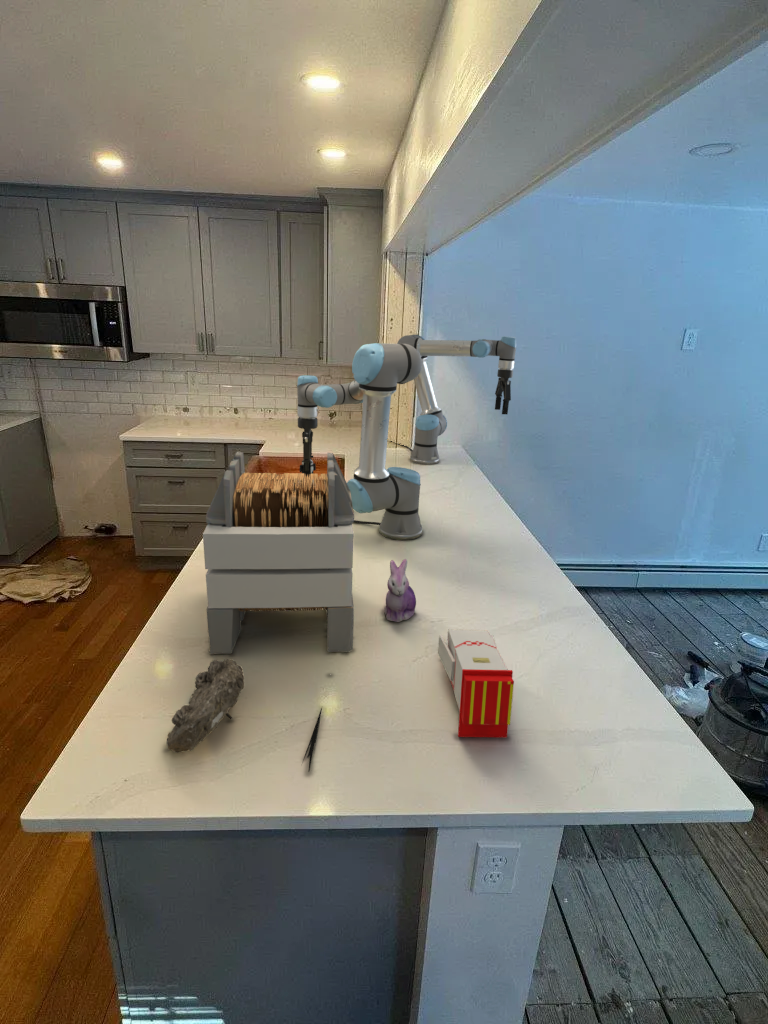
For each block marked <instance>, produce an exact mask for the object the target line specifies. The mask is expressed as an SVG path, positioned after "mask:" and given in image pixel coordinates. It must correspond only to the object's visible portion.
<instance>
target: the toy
mask: <svg viewBox="0 0 768 1024" xmlns="http://www.w3.org/2000/svg"><path fill="white" fill-rule="evenodd" d="M446 640H447V643H446V641H445V639H444V636H443V635H442V634H439V637H438V646H437V656H438V657H439V659H440V661H441V663H442V666H443V668H444V670H445V672H446V674H447V677H448V679H449V681H450V684H451V687H452V690H453V693H454V697H455V701H456V705H457V708H458V711H459V714H458V715H459V716H458V730H457V731H458V732H457V737H458V738H508V731H509V726H510V725H511V717H512V707H513V697H514V696H513V695H514V684H515V680H514V679H513V673H514V671H513V670H512V669H508V667H507V665H506V662H505V661H504V659H503V658H502V655H501V653H500V651H499V649H498V647H497V643H496V639H495V637H494V635H493V634H491V632H490V631H489V629H467V628H466V629H465V628H463V629H461V628H460V629H459V628H448V630H447V639H446Z"/></svg>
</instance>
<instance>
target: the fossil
mask: <svg viewBox="0 0 768 1024" xmlns="http://www.w3.org/2000/svg"><path fill="white" fill-rule="evenodd" d="M243 670H244V669H243V667H242V665H240V664H237V662H236V661H235V660H234V659H232V658H231V659H227V658H226V659H224V660H223V661H222V660H217V659H212V660H211V661H210V663H209V665H208V666H207V671H201V672H199V673H198V674H197V675H196V676H195V680H194V684H195V685H194V687H195V689H194V690H193V693H192V694H191V697H190V698H189V700H188V704H184V705H182V706H181V707H180V709H177V710H176V711H175V713H174V715H173V716H172V718H171V723H172V724H173V727H172V730H171V731H170V732H168V734H167V738H166V741H167V742H166V745H167V749H168V750H169V751H173V752H174V753H176V754H178V753H182V752H188V751H189V752H192V751H193V750H195V748H196V747H197V746H199V744H200V743H201V742H203V741H204V740H205V739H206V738H207V737H208V736H209V735H210V734H211V733H212V732H214V730H215V729H217V727H218V726H219V724H220V722H221V721H222V720H223V719H224V718H225V716H226V717H227V719H229V720H233V717H232V715H230V714H229V710H230V709H231V708H234V706H235V704H236V703H237V702H238V699H239V697H240V695H241V693H242V691H243V690H245V689H244V688H245V675H244V671H243Z"/></svg>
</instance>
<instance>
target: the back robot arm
mask: <svg viewBox="0 0 768 1024" xmlns="http://www.w3.org/2000/svg"><path fill="white" fill-rule="evenodd" d="M396 344H408V345H411V346H413V347H414V348H415V349H416V350H417V351H418V352H419V354H420V356H421V359H422V369H421V371H420V373H419V375H418V376H417V377H416V378H415V379H413V383H414V386H415V390H416V392H417V398H418V401H419V405H420V409H421V413H420V415H418V416H417V417H416V419H415V432H414V434H415V435H414V446H413V449H412V448H411V447H409V446H408V445H406V446H404V445H405V444H403V445H400V444H401V443H400V444H398V445H399V446H401V447H404V448H406V449H407V450H408V449H409V451H410V452H411V454H410V457H409V460H410V462H412V463H413V464H414V463H415V464H418V465H437V464H439V463H440V454H439V450H438V437H439V436H441V435H443V434H444V432H445V431H446V430H447V427H448V421H447V420H448V419H447V418H446V416H445V415H444V414H443V409H442V408H441V407H439V406H438V402H437V398H436V395H435V391H434V387H433V384H432V380H431V376H430V371H429V369H428V364H427V361H428V359H429V357H461V358H462V357H465V358H467V357H469V358H479V359H480V358H486V357H488V356H490V357H498V363H497V367H498V369H497V373H496V374H497V377H498V380H497V384H496V388H495V393H494V395H495V402H494V403H495V404H494V410H495V411H497V410H498V411H500V410H501V415H508V413H509V405H510V404H509V403H510V401H512V395H511V394H512V393H511V391H512V389H511V386H512V385H511V384H512V381H511V380H510V379H512V378H513V377H514V369H515V365H516V362H515V359H516V351H517V337H515V336H501V339H499V340H496V339H486V338H482V339H479V338H478V339H477V340H465V339H464V340H460V339H458V340H457V339H456V340H455V339H454V340H453V339H452V340H449V339H425V338H424V337H423V336H421V335H419V334H409V335H408V334H407V335H403V336H402V337H400V338H399V339H398V341H397V343H396ZM502 398H503V399H502ZM501 405H502V408H501Z"/></svg>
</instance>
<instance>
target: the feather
mask: <svg viewBox="0 0 768 1024" xmlns="http://www.w3.org/2000/svg"><path fill="white" fill-rule="evenodd" d="M329 675H330V676H331V675H332V674H331V673H330V674H329ZM322 710H323V707H321V708H320V710H319V713H318V716H317V719H316V723H315V725H314V728H313V731H312V733H311V737H310V739H309V742H308V745H307V748H306V751H305V754H304V757H303V760H302V763H301V767H302V765H303V763H304V761H305V758H308V759H309V760H308V762H307V763H308V764H307V766H308V771H310V770H311V766H312V765H311V764H312V760H313V757H315V756H314V755H315V751H316V749H315V746H317V739H318V733H319V729H320V722H321V717H322V712H323V711H322ZM313 754H314V755H313ZM306 755H307V757H306Z"/></svg>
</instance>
